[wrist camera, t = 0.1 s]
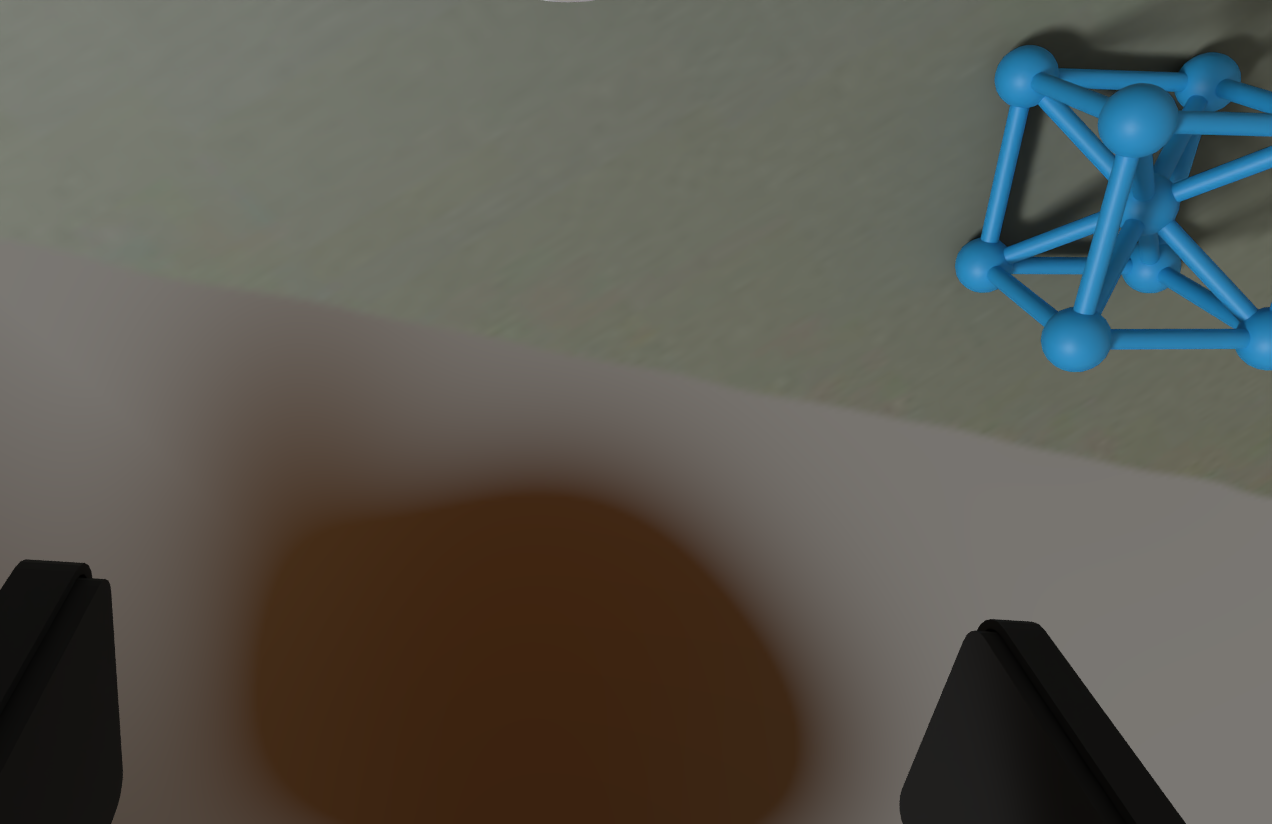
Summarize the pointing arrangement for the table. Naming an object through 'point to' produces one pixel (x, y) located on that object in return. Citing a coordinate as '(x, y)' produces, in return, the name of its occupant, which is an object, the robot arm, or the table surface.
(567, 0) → the coffee cup
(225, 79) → the table surface
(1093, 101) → the molecular structure
